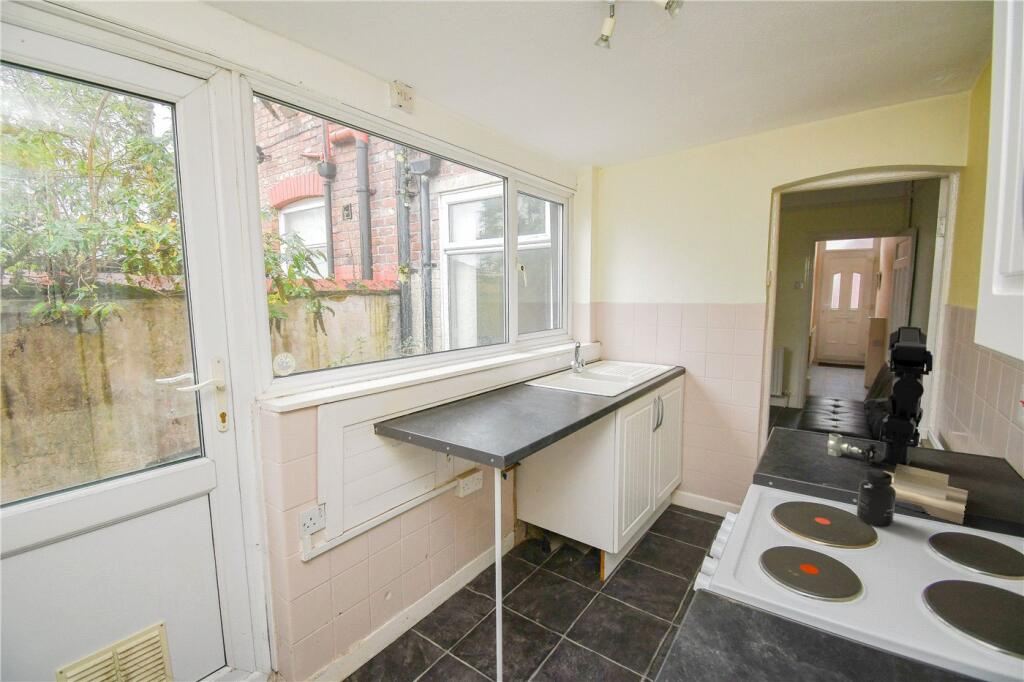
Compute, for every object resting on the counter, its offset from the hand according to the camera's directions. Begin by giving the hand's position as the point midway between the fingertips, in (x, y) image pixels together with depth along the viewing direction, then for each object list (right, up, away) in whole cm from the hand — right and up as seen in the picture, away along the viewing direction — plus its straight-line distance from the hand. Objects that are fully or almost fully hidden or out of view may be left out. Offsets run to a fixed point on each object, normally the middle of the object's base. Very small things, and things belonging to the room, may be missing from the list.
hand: (900, 447), depth 120 cm
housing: (+1, -10, -4) cm, 11 cm away
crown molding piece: (+2, -13, -4) cm, 13 cm away
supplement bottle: (-17, -15, -12) cm, 26 cm away
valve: (+3, -9, +22) cm, 24 cm away
